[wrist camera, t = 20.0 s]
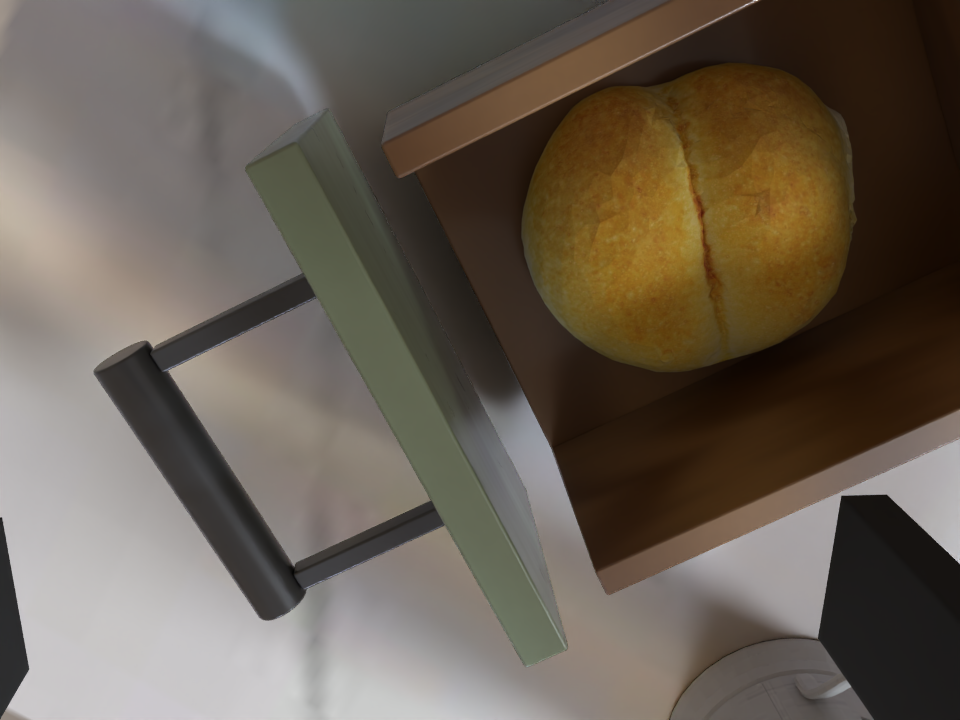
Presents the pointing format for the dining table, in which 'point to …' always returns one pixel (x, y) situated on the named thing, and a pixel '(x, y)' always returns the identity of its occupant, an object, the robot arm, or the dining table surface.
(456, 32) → the dining table surface
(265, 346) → the dining table surface
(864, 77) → the drawer
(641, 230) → the bread roll
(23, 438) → the dining table surface
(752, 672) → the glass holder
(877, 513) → the robot arm
